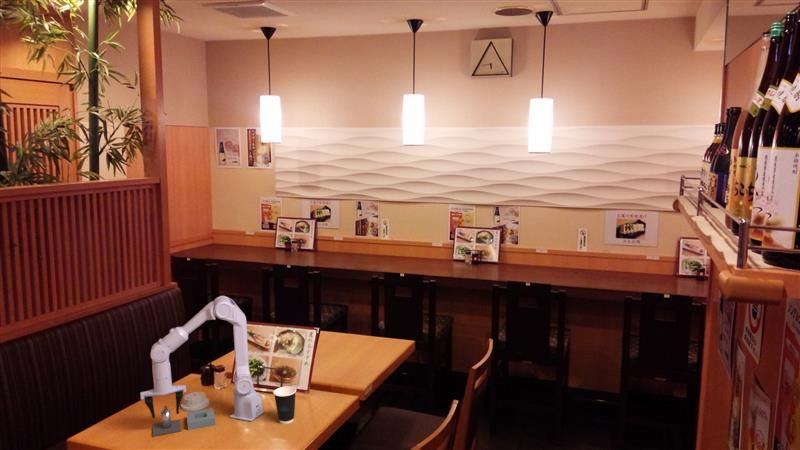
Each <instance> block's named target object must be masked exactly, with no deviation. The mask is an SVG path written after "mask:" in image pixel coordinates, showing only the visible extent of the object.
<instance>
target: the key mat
mask: <svg viewBox="0 0 800 450" xmlns="http://www.w3.org/2000/svg"><path fill="white" fill-rule="evenodd" d="M181 423H182V422H181V419H180V418H179V419H173V420H171V425H172V426H171V427H170V428H168V429H163V428H162V422H157V423H153V424H152V438H155V437H160V436H164V435H171V434H175V433H180V432H182V426H181V425H182V424H181Z"/></svg>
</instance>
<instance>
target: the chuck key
mask: <svg viewBox="0 0 800 450" xmlns="http://www.w3.org/2000/svg"><path fill="white" fill-rule="evenodd" d="M160 415H161V423H162V428H163V429H168V428H170V427H171V426H172V425H171V421H172V415H171V409H170V408H168V405H164V406H163V409H161V410H160Z"/></svg>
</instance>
